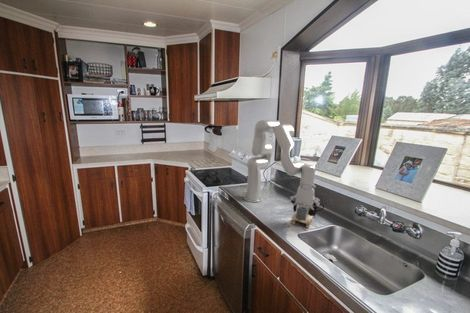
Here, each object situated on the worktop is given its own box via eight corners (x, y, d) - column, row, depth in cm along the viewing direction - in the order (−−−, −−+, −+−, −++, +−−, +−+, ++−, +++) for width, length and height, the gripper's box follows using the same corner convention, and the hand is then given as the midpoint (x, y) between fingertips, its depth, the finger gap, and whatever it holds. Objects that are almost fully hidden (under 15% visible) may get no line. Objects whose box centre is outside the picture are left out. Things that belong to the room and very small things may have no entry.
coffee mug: (301, 211, 161) (303, 197, 159) (311, 210, 164) (313, 196, 162) (312, 218, 151) (314, 203, 149) (323, 217, 154) (325, 202, 152)
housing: (299, 213, 148) (300, 203, 147) (308, 215, 146) (309, 205, 144) (295, 217, 141) (297, 207, 140) (305, 220, 139) (306, 210, 137)
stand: (291, 223, 142) (292, 217, 141) (295, 217, 151) (296, 211, 150) (308, 228, 137) (309, 222, 137) (311, 222, 146) (312, 215, 145)
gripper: (322, 187, 139) (319, 214, 142) (293, 181, 146) (290, 207, 150) (320, 190, 132) (316, 219, 136) (290, 184, 140) (286, 211, 143)
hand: (302, 213), depth 143 cm, fingers open, 9 cm apart
